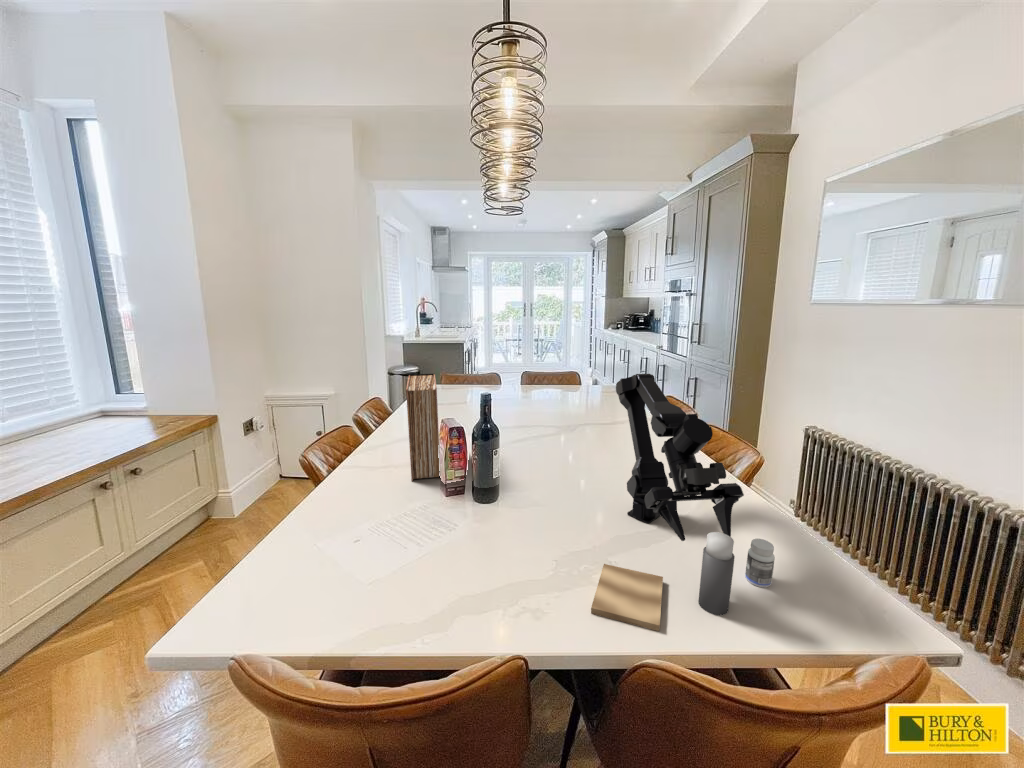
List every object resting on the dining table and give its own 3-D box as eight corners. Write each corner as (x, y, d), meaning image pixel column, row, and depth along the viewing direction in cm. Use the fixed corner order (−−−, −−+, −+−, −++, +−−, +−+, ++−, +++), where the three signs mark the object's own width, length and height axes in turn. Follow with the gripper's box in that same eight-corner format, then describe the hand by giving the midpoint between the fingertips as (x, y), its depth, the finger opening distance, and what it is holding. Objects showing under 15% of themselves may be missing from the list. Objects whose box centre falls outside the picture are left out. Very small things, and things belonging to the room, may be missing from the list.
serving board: (603, 568, 91) (603, 563, 91) (662, 581, 87) (662, 576, 87) (590, 613, 79) (591, 607, 78) (659, 631, 74) (659, 625, 74)
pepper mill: (705, 591, 84) (712, 527, 81) (733, 605, 80) (741, 539, 78) (693, 604, 81) (699, 538, 78) (721, 619, 77) (729, 550, 74)
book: (440, 479, 136) (436, 387, 130) (411, 481, 135) (405, 389, 128) (438, 451, 161) (434, 373, 154) (413, 453, 159) (408, 374, 153)
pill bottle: (747, 570, 91) (751, 534, 89) (773, 579, 88) (778, 542, 86) (742, 581, 87) (747, 544, 85) (768, 591, 84) (774, 553, 83)
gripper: (653, 449, 83) (676, 530, 75) (743, 446, 85) (775, 524, 77) (636, 471, 93) (654, 545, 84) (717, 467, 95) (743, 540, 86)
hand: (706, 539), depth 83 cm, fingers open, 9 cm apart
